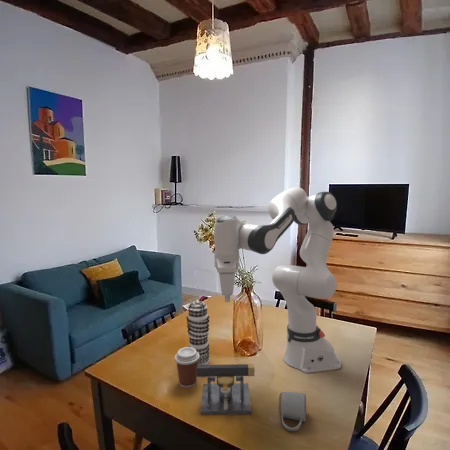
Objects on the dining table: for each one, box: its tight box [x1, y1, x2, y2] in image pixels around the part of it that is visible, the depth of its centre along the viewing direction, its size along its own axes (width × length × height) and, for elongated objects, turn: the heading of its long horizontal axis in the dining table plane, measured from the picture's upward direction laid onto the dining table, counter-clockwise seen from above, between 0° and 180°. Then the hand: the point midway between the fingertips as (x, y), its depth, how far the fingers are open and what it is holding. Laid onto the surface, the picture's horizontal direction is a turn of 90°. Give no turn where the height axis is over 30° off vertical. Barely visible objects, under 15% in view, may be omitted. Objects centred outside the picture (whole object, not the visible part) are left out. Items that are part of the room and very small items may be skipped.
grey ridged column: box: [185, 300, 210, 365], centre depth 133 cm, size 9×9×25 cm
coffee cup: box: [174, 346, 200, 388], centre depth 120 cm, size 9×9×12 cm
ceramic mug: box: [278, 391, 307, 432], centre depth 101 cm, size 11×8×8 cm
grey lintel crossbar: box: [197, 363, 255, 391], centre depth 110 cm, size 19×9×6 cm, turn 90°
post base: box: [200, 376, 252, 416], centre depth 111 cm, size 16×14×8 cm
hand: (227, 298), depth 119 cm, fingers open, 4 cm apart
